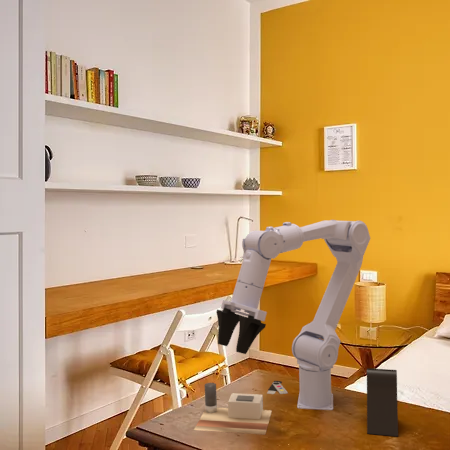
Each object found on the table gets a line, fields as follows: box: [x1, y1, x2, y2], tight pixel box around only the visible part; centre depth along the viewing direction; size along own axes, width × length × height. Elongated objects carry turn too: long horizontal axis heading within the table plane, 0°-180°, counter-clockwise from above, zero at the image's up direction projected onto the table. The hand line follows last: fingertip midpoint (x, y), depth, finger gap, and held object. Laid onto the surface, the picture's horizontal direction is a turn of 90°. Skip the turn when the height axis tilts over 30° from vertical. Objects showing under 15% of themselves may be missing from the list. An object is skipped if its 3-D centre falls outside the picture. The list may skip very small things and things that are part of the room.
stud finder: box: [227, 392, 264, 419], centre depth 118 cm, size 5×7×4 cm
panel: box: [193, 407, 273, 435], centre depth 115 cm, size 12×15×1 cm
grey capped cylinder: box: [204, 382, 218, 413], centre depth 120 cm, size 3×3×6 cm
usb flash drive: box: [266, 380, 289, 395], centre depth 133 cm, size 9×5×1 cm, turn 162°
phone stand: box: [366, 367, 399, 437], centre depth 111 cm, size 9×6×12 cm, turn 164°
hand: (231, 348), depth 110 cm, fingers open, 7 cm apart
